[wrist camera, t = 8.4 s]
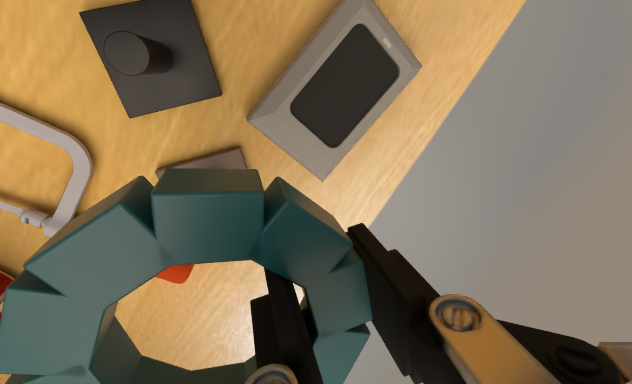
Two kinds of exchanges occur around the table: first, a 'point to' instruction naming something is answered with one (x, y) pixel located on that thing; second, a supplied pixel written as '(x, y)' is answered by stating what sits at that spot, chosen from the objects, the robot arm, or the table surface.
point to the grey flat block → (335, 86)
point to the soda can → (4, 288)
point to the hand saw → (74, 187)
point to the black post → (153, 54)
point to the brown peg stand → (212, 161)
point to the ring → (177, 249)
